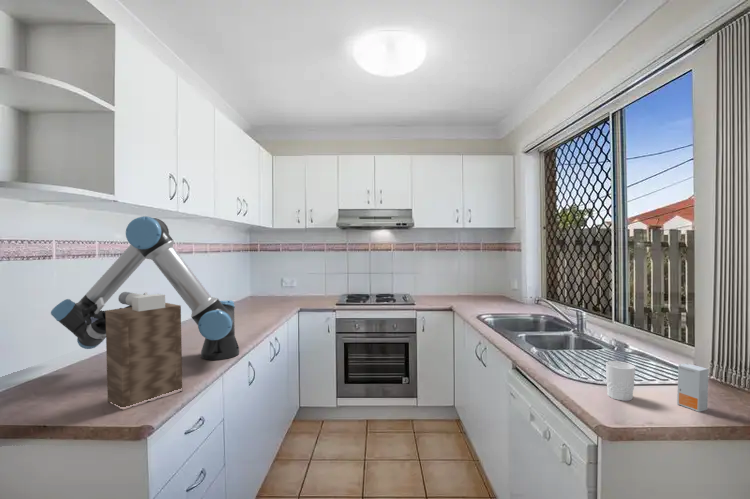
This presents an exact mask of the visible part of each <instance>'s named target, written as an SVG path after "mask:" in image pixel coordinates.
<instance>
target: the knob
mask: <svg viewBox="0 0 750 499" xmlns="http://www.w3.org/2000/svg"><path fill="white" fill-rule="evenodd" d="M118 302H119V303H120V304H122V305H127V306H130V305H131V306H132V310H134V311H145V310H152V309H160V308H165V303H166V295H165V294H163V293H162V294H161V293H155V294H148V295H143V293H142V294H141V293H137V292H136V293H134V292H129V291H123V292H121V293H120V294H119V295H118Z"/></svg>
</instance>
